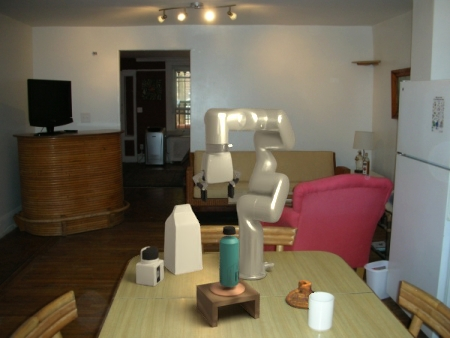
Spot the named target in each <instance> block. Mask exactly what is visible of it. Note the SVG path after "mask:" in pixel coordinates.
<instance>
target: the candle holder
mask: <svg viewBox="0 0 450 338" xmlns="http://www.w3.org/2000/svg"><path fill="white" fill-rule="evenodd" d="M297 285H298V287H297V288H295V289H292V290H291V291H290V292H289V293H288V294H287V295H286V297H285V300H286V303H287V304H288V305H289V304H290V306H291V307H293V308H296V307H297V309H300V308H305V309H304V310H308V309H307V308H308V299H309V295H310V294H311V293H314V292H316V291H315V290H313V289H312V282H310V281H309V280H299V281H298V283H297Z"/></svg>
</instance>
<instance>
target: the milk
mask: <svg viewBox="0 0 450 338" xmlns="http://www.w3.org/2000/svg"><path fill="white" fill-rule="evenodd" d="M199 222H200V221H199V220H198V219H197V216H196V215H195V213H194V211H193V209H192V206H191V204H190V203H186V204H185V203H184V204H178V205H177V204H176V205H174V207H173V210H172V212H171V213H170V215H169V216H168V217H167V218H166V220H165V223H164V243H163V244H164V245H163V248H164V249H163V250H164V252H163V261H164V268H166V269H167V270H168V271H170V272H171V273H172V274H173V275H174V276H176V275H177V276H178V275H182V274H188V273H192V272H197V271H198V272H199V271H201V270H204V269H203V253H202V252H203V250H202V249H203V248H202V235H201V226H200V225H201V224H200V223H199Z"/></svg>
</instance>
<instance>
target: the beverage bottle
mask: <svg viewBox="0 0 450 338" xmlns="http://www.w3.org/2000/svg"><path fill="white" fill-rule="evenodd" d="M236 229H237V228H236V227H235V226H234V225H225V226H223V227H222V234H223V235H224V236H222V237H221V238H220V239H219V241H218V242H219V258H218V259H219V262H218V265H219V266H218V267H219V268H218V271H219V273H218V274H219V275H218V277H219V278H218V279H219V281H218V282H220V284H221V285H223V286H226V287H233V286H236V285H238V283H239V256H240V255H239V238H237V237H236V236H235V235H236V234H237V231H236Z"/></svg>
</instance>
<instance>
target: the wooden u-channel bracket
mask: <svg viewBox="0 0 450 338" xmlns="http://www.w3.org/2000/svg"><path fill="white" fill-rule="evenodd" d="M195 286H196V287H195V288H196V289H195V290H196V292H195V293H196V294H195V295H196V296H195V297H196V301H195V302H196V304H195V305H196V306H195V307H196V308H195V309H196V310H197V312H198V313H200V315H201V316H202V317H203V319H205V320H206V322H207V323H208V324H209V325H210V326H211V327H212V328H216V327H218V317H219V316H218V312H219V311H218V309H219V308H218V307H223V306H229V305H233V304H234V305H235V304H238V305H240V306H241V308H243V309H244V310H245V311H246V312H247V313H248V314H249V315H250V316H251V317H252V318H254V319H255V320H256V319H260V317H261V316H260V314H261V313H260V311H261V310H260V309H261V306H260V304H261V293H260V292H258V291H257V290H256V289H254V287H252V286H251V284H248V283H247V282H246V280H245V279H242V278H239V283H238V285H236V286H233V287H226V286H223V285H221V284H220V281H216V282H210V283H209V282H208V283H204V284H203V283H201V284H198V285H197V284H196V285H195Z"/></svg>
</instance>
